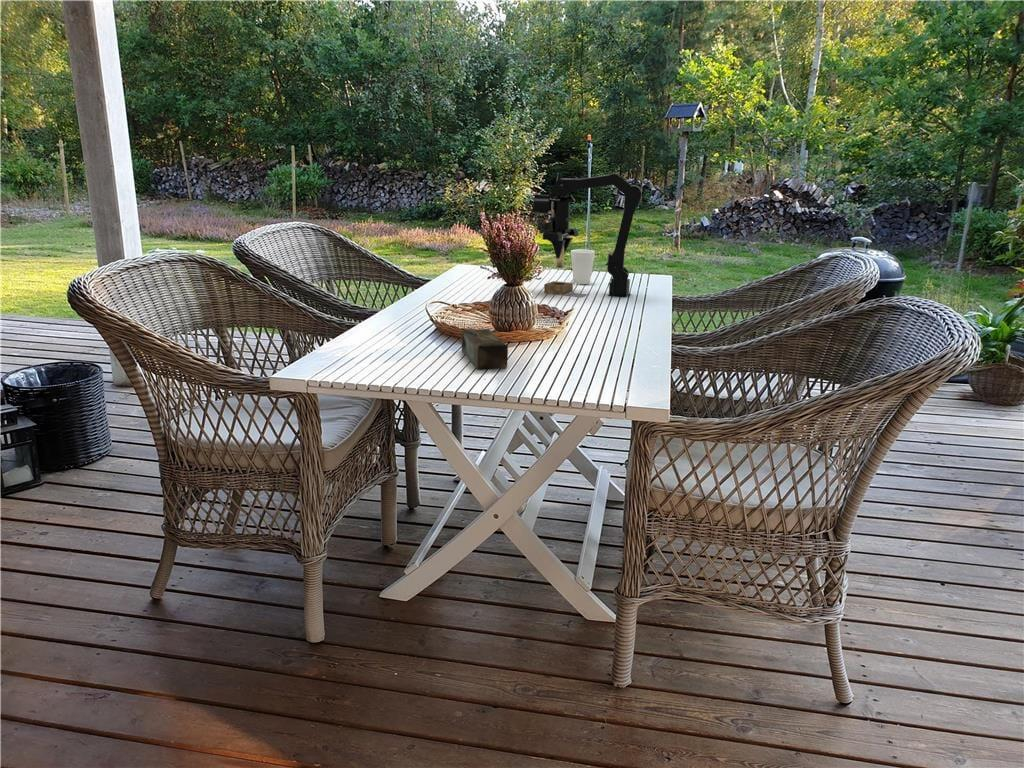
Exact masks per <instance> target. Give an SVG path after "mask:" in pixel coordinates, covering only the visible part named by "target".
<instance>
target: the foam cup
mask: <svg viewBox="0 0 1024 768" xmlns="http://www.w3.org/2000/svg"><path fill="white" fill-rule="evenodd" d="M595 256H596V252H595V250H592V249H583V248H582V249H580V248H579V249H571V250H570V259H571V268H572V278H573V282H572V283H573V284H574V283H576V284H589V283H591V277H592V273H593V266H594V260H595ZM589 285H590V284H589Z"/></svg>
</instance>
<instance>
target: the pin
mask: <svg viewBox="0 0 1024 768" xmlns="http://www.w3.org/2000/svg"><path fill="white" fill-rule="evenodd" d="M564 257H565V254H564V246H563V249H562V252H561V255H560V258H556V257H555V262H554V263H555V268H556V269H562V268H564V264H565V263H564V262H565V261H564V259H565V258H564Z"/></svg>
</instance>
